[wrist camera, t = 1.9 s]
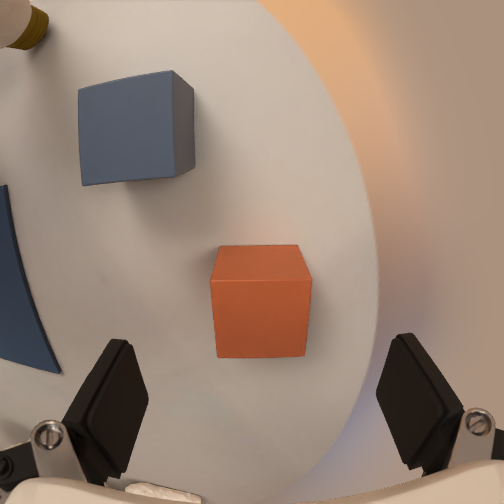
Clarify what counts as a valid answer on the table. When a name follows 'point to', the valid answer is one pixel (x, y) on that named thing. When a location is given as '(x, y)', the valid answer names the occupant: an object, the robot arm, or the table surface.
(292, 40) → the table surface
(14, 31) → the light bulb
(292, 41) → the table surface
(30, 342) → the navy blue mat
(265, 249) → the terracotta block
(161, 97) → the slate block
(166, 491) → the sitting furry creature
